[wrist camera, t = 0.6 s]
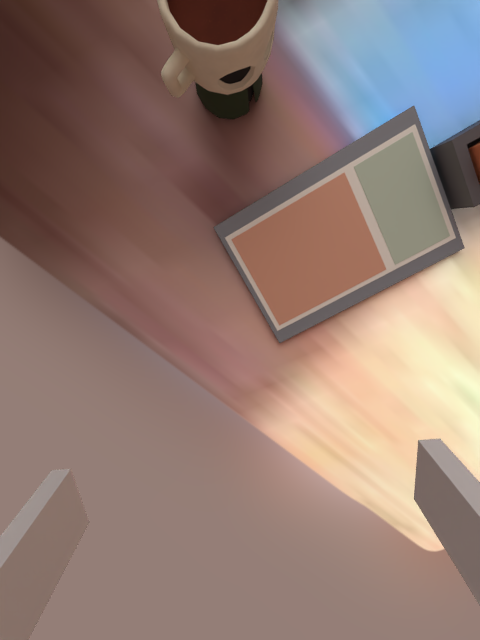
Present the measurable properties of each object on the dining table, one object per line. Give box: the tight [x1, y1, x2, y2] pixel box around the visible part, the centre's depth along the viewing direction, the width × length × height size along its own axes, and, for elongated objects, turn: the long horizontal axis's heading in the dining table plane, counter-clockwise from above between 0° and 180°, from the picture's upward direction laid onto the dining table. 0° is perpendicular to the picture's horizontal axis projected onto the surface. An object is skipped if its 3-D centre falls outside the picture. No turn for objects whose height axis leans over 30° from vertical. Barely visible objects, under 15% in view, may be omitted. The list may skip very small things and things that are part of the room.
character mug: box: [157, 0, 278, 119], centre depth 23 cm, size 11×7×13 cm, turn 137°
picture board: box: [214, 106, 464, 343], centre depth 32 cm, size 15×22×1 cm
